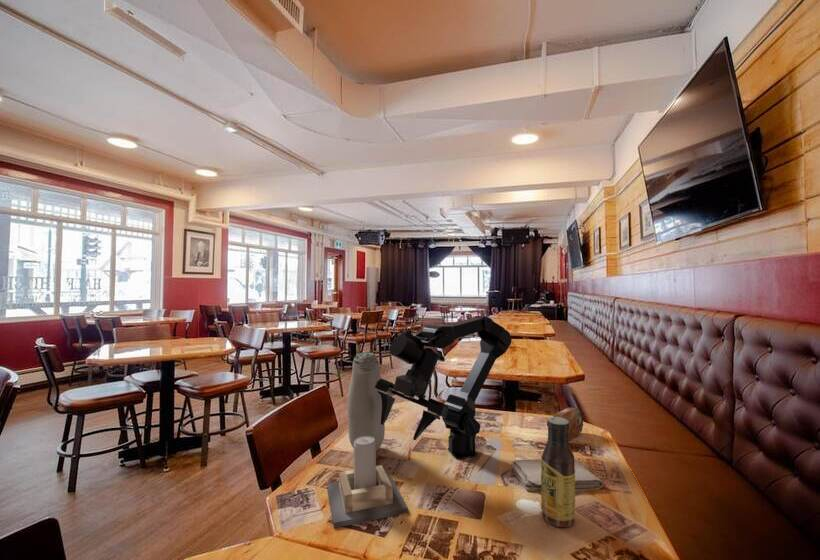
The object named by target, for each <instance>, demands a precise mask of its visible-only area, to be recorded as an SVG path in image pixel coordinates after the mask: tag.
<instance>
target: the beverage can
mask: <svg viewBox="0 0 820 560" xmlns="http://www.w3.org/2000/svg"><path fill="white" fill-rule="evenodd" d="M376 460H377V451H376V443H375V439H374V438H373V437H371V436H361V437H358V438H356V439H355V440H354V448H353V470H354V488H355V490H356V489H362V488H367V487H373V486H376V466H377V461H376Z"/></svg>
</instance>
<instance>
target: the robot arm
mask: <svg viewBox="0 0 820 560" xmlns="http://www.w3.org/2000/svg"><path fill="white" fill-rule="evenodd" d="M473 334H477V337H479V339H480V341H479V343H480V352H479V353H478V356H477V358H476V360H475V362H474V364H473V365H472V367H471V368H470V371H469V373H468V374H467V377H466V378H465V380H464V381H463V382H464V383H463V384H462V386H461V388H460V390H459V391H458V393H456V394H455V395H454V394H451V393H450V394H449V395H448V396H447V399H446V400H445V402H444V403H443V402H440V401H438V400H435V399H433V398H429V399H426V397H427V395H426V393H427V390H428V387H429V385H431V383H432V377H433V374H434V372H435V369H436V366H437V365H438V364H437V363H438V362H445V361H446V359H445V356H444V354H443V351H442V350H441V349H446V348H448V347H449V346H451V345H453V344H454V342H455V341H456V340H458V339H460V338H463V337H466V336H469V335H473ZM512 340H513V338H512V336H511V334H510V332H509V331H508V330H507V329H506V328H504V327H503V326H501V324H498V323H497V322H495V321H494V320H493V319H492V318H491V317H490V316H487V315H486V316H485V315H475V316H473V317H471V318H467V319H463V320H460V321H459V320H458V321H455V322H453V323H452V322H451V323H449V324H426V325H424V326H423V328H422V330H421V331H420V332H418V333H417V334H415V335H414V334H412V333H411V332H410V331H408V330H402V331H401V333H400V334H398V335H397V336H396V337H395V338H394V339H393V340H392V341H391V344H390V345H389V353H390V354H391V356H393V357H395V358H397V359H399V360H401V361H403V363H406V364H408V365H411V367H410V369H409V368H408V369H407V371H406V373H405V374H402V375H397V376H396V377H395V380H394V381H395V382H394V383H393V382H391V381H388V380H386V379H384V378H382V377H381V379H379V380H378V381H377V382H376V385H375V387H374V388H376V389H378V390H380V391H378V393H379V394H380V395H381V399H382V413H381V425H384V423H386V421H387V419H388V417H389V415H390V413H391V410H392V408H393V406H394V404H395V401H396V398H395V397H393V396H398V397H400V398H402V399H405V400H407V401H408V402H412V403H414V404H417V405H418V406H421V407H423V408H426V409H427V410H424V409H423V410H422V417H421V418H420V421H419V422H418V425H417V427H416V430H415V432H414V435H413V438H412V440H413V441H417V439H418V438H419V437H420V436H421V435H422V434H423V432H425V430H426V429H427V428H428V427H429V426H430V425H431V424H432V423H433V422H434V421H436V420H439V421H440V420H441V418H442V421H443V424H444V426H445V429H449V435H448V440H447V441H448V447H447V451H448V452H450V454H451V455H452V456H453V457H454V458H455V459H456V460H460V459H462V460H463V459H467V458H473V457H478V456H479V453H478V452H477V451H476V436H477V434H479V433H480V432H481V431H480V430H481V424H480V423H479V422H478V420H476V419H475V416H476V400H477V398H478V397H479V395H480V392H481V390H482V388H483V386H484V384H485V382H486V380H487V378H488V376H489V374H490V372H491V370H492V368H493V366H494V364H495V362H496V360H497V359H498V358H500V357H501V356H503V355H505V354H506V352H507V351H508V350H509V347H510V346H511V344H512ZM432 348H436V350H434V349H432ZM437 349H440V350H437ZM415 397H417V398H418V399H417V398H415Z"/></svg>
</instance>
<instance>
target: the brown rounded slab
mask: <svg viewBox="0 0 820 560" xmlns="http://www.w3.org/2000/svg"><path fill="white" fill-rule="evenodd" d="M552 417H561V418H564V419H566V420H568V421H569V430H568V440H569V442H570V441H572V440H574V439H576V438H577V437H579V436H580V435H581V433H582V431H583V428H584V416H583V413H582V411H581V410H580V409H579V408H577V407H567V408H564V409H562V410H561V411H558V412H556V413H554V415H553V416H552Z"/></svg>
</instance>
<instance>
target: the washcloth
mask: <svg viewBox="0 0 820 560" xmlns="http://www.w3.org/2000/svg"><path fill="white" fill-rule="evenodd" d="M574 465H575V466H574V469H575V491H588V490H589V491H590V490H591V491H592V490H600V489H601V488H602V487H603V486H604V482H603V481H602V480H601V479H600V478H599V477H597V476H596V475H595V474H593V472H591V471H590V470H588V469H587V467H585V466H584V465H583V464H582V463H581V462H580V461H579V460H578V459H576V458H574ZM511 467H512V470H513V471H514V474H515V477H516V478H517V479H518V480H519V482H520V483H521V484H522V486H523V488H524V489H525V490H526V491H528V492H534V493H541V458H537V459H536V458H535V459H516V460H513V461H512V463H511Z"/></svg>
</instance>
